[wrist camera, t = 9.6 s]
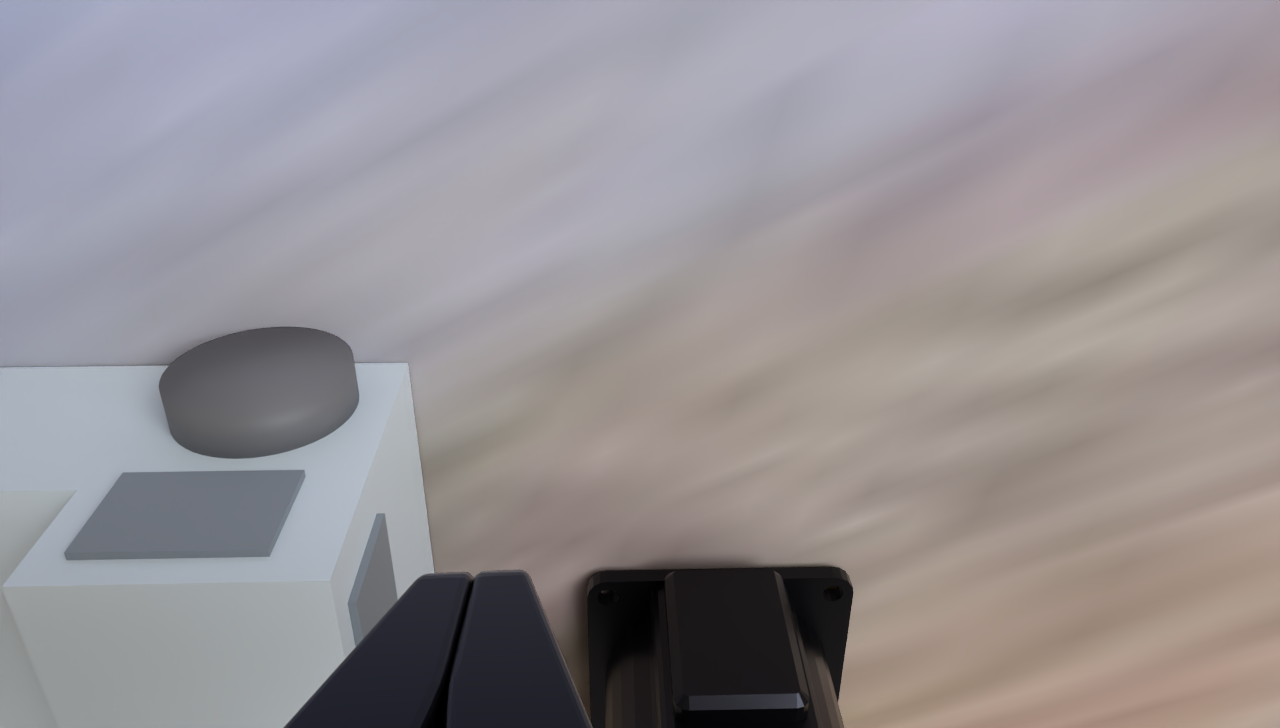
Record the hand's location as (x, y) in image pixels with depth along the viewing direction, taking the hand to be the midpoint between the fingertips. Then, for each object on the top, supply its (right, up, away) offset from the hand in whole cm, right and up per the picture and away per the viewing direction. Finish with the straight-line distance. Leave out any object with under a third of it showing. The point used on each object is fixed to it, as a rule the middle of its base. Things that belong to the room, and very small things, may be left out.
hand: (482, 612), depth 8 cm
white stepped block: (-11, -2, +16) cm, 19 cm away
